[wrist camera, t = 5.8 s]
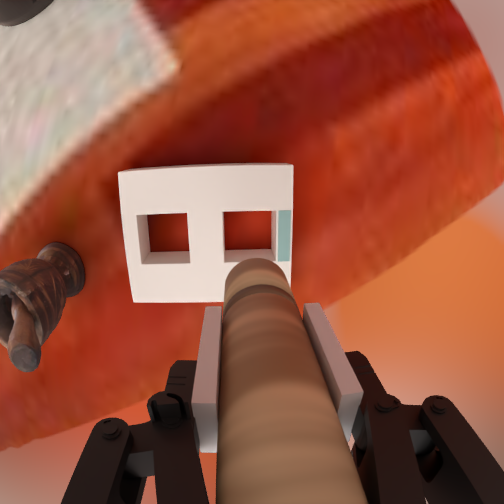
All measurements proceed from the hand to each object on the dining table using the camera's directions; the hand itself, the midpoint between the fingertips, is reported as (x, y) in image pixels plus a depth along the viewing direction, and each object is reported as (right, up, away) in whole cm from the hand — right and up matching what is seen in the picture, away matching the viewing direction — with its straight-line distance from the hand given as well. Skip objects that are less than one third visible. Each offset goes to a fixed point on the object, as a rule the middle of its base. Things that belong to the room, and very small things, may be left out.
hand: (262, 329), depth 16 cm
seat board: (-5, +6, +20) cm, 21 cm away
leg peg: (0, +2, +5) cm, 5 cm away
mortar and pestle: (-23, +2, +20) cm, 31 cm away
